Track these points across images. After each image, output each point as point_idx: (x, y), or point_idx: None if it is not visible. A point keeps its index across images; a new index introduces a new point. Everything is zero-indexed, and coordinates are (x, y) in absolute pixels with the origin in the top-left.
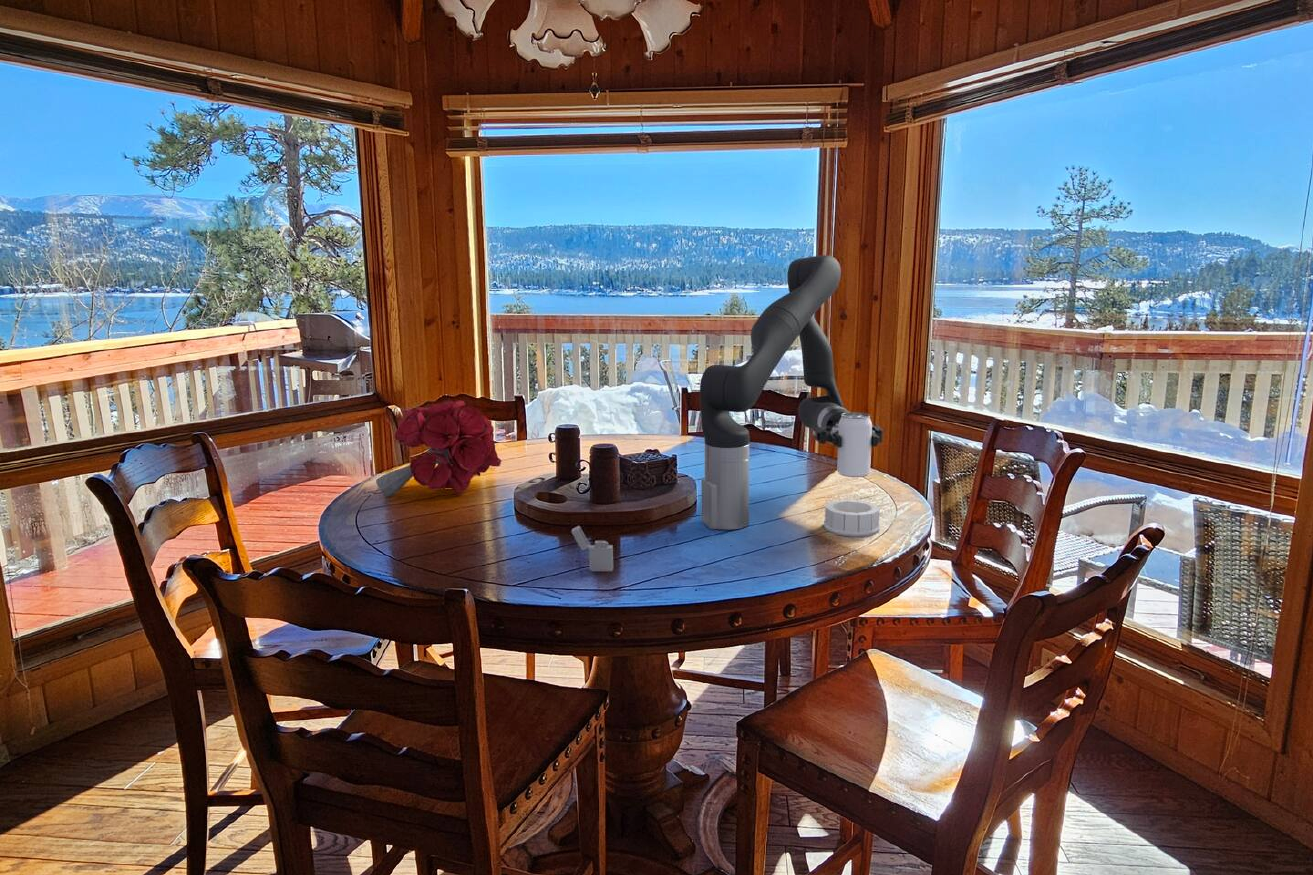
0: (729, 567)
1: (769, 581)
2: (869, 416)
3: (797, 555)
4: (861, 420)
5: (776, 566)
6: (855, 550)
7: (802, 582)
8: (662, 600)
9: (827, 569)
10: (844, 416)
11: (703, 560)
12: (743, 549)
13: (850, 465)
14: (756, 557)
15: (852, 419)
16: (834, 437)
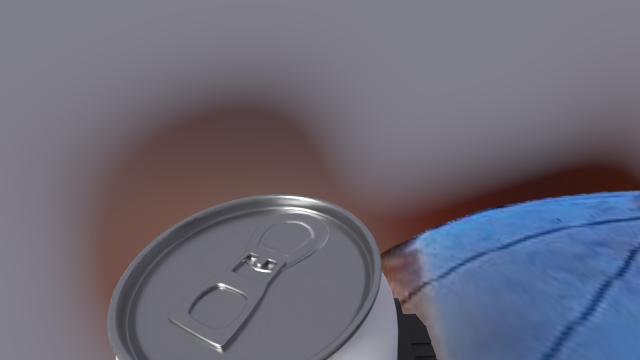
0: (559, 275)
1: (477, 238)
2: (173, 226)
3: (460, 322)
4: (256, 212)
5: (483, 279)
6: None
7: (434, 237)
8: (579, 202)
9: (403, 270)
10: (358, 223)
11: (628, 300)
12: (588, 355)
13: None
14: (535, 313)
15: (310, 209)
16: (419, 340)
